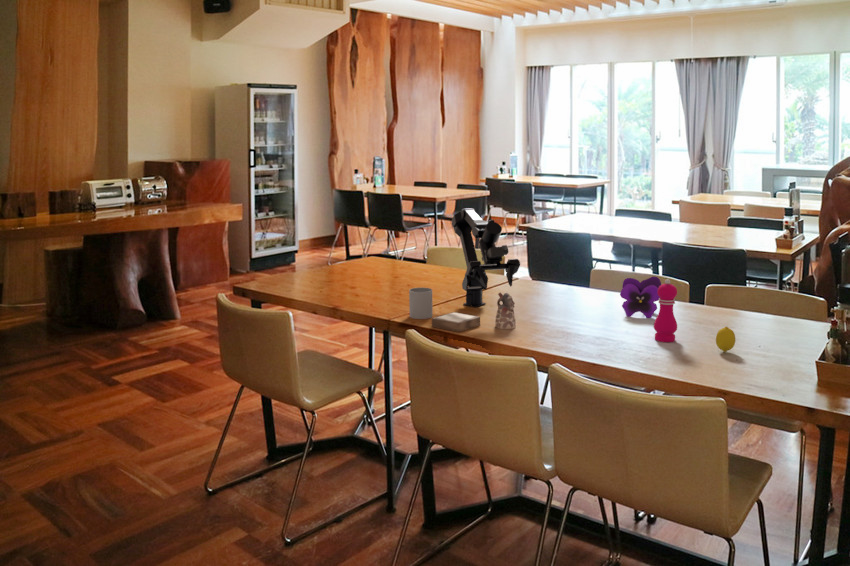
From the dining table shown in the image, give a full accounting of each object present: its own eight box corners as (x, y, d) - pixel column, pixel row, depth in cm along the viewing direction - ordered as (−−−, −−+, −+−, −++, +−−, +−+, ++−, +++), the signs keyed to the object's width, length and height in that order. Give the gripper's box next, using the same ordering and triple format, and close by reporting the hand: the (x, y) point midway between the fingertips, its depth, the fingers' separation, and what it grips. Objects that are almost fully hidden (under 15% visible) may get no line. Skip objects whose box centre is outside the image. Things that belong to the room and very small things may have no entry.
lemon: (717, 348, 237) (719, 323, 236) (736, 351, 234) (738, 326, 233) (712, 353, 233) (714, 327, 231) (732, 355, 230) (733, 330, 228)
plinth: (453, 320, 277) (453, 311, 277) (480, 325, 269) (480, 316, 269) (431, 326, 268) (431, 317, 268) (458, 332, 261) (458, 323, 260)
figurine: (510, 330, 262) (510, 295, 260) (491, 327, 266) (491, 293, 264) (519, 325, 268) (519, 292, 266) (500, 323, 272) (501, 290, 270)
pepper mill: (649, 337, 251) (652, 277, 247) (671, 336, 252) (674, 276, 248) (658, 343, 244) (661, 281, 240) (680, 342, 245) (683, 280, 241)
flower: (621, 323, 290) (617, 313, 278) (625, 285, 294) (621, 274, 282) (661, 326, 285) (659, 317, 273) (664, 287, 289) (662, 276, 277)
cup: (429, 319, 279) (429, 292, 277) (407, 318, 280) (407, 291, 278) (434, 314, 287) (433, 287, 285) (412, 313, 288) (412, 287, 286)
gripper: (469, 239, 271) (478, 275, 263) (518, 236, 276) (529, 272, 267) (462, 257, 280) (471, 293, 272) (511, 255, 285) (521, 289, 276)
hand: (498, 286), depth 272 cm, fingers open, 9 cm apart
